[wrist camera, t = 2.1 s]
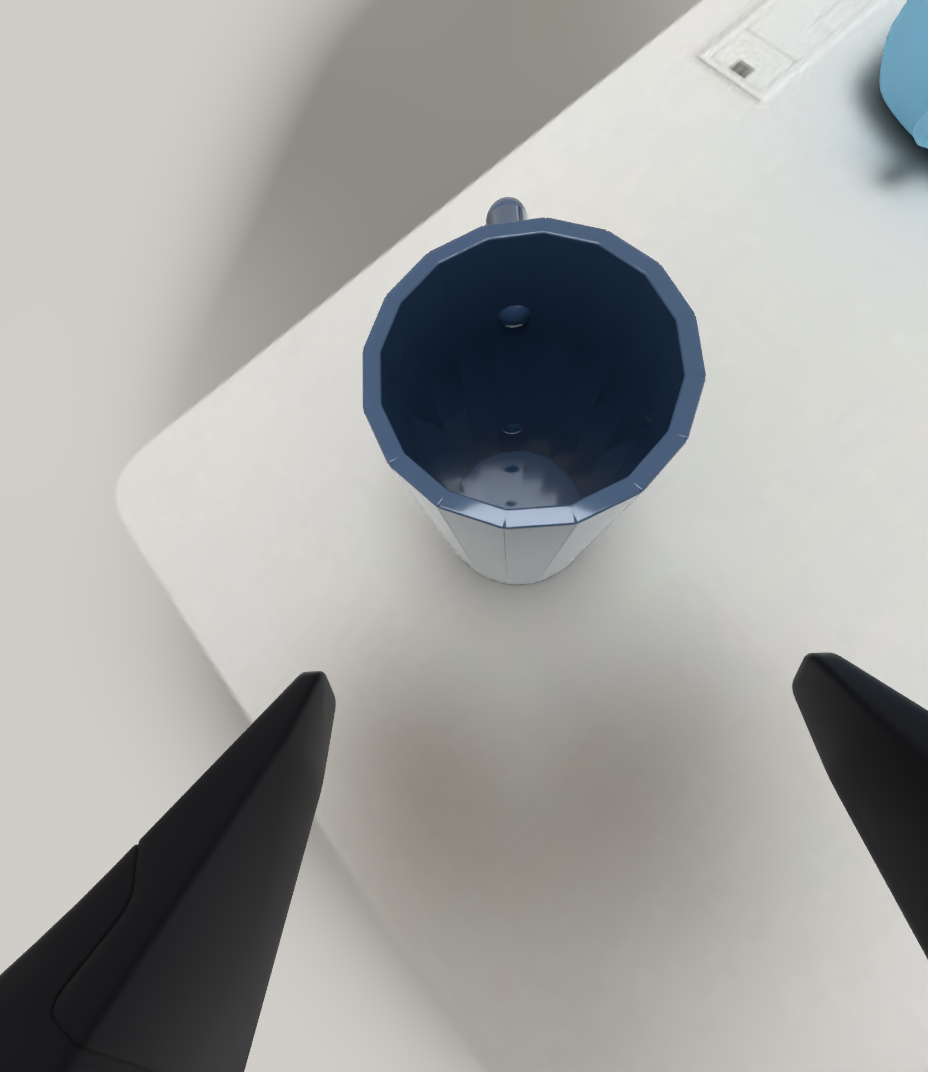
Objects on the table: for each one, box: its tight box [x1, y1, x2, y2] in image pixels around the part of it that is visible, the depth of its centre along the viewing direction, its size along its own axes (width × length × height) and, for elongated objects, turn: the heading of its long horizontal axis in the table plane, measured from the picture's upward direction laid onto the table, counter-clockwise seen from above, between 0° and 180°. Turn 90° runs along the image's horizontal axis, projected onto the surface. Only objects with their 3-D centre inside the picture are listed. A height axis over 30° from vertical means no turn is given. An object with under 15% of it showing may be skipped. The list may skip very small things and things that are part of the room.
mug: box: [363, 197, 706, 584], centre depth 16 cm, size 10×7×13 cm
